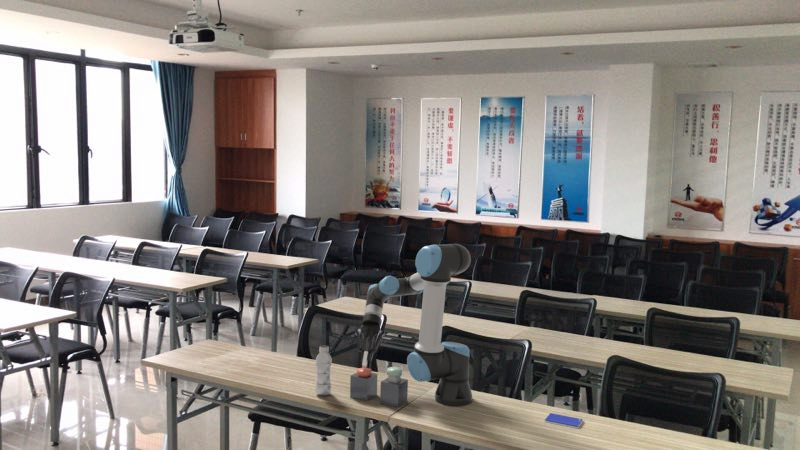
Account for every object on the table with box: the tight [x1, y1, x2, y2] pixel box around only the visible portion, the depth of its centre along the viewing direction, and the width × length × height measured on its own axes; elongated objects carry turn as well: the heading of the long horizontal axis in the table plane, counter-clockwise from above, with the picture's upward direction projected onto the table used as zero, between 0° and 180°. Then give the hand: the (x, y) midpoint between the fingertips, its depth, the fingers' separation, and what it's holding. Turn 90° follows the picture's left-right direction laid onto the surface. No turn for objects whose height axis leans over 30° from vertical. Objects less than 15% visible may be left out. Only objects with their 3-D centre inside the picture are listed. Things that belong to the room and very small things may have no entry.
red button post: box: [349, 372, 378, 402], centre depth 280 cm, size 8×8×9 cm
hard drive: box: [544, 412, 584, 429], centre depth 259 cm, size 2×8×12 cm
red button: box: [356, 367, 373, 377], centre depth 280 cm, size 6×6×10 cm
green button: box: [386, 366, 403, 383], centre depth 273 cm, size 6×6×10 cm
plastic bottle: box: [315, 345, 333, 396], centre depth 280 cm, size 6×7×20 cm
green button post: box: [379, 377, 409, 408], centre depth 274 cm, size 8×8×9 cm
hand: (364, 366), depth 280 cm, fingers closed
